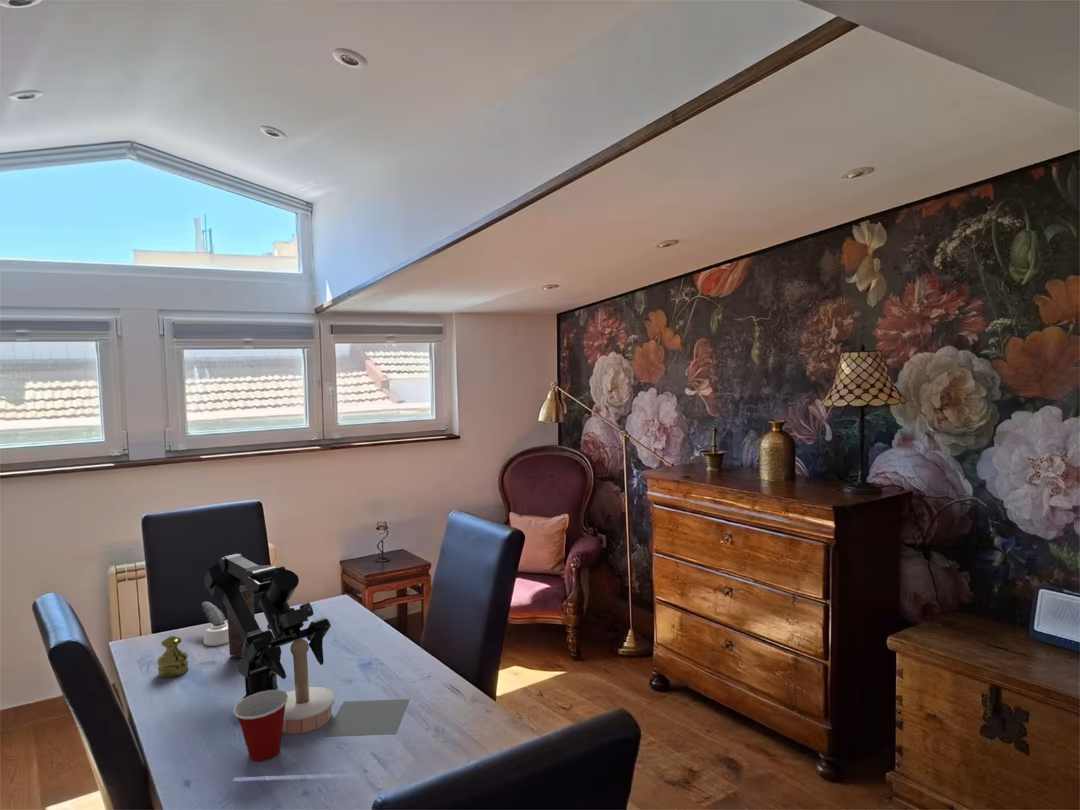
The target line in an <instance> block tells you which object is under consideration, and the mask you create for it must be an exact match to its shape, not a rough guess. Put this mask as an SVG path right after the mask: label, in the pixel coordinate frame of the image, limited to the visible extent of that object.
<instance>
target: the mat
mask: <svg viewBox="0 0 1080 810" xmlns="http://www.w3.org/2000/svg"><path fill="white" fill-rule="evenodd" d="M409 702H410V698H403V699H399V698H398V699H378V700H377V699H376V700H375V699H374V700H350V701H346V700H345V701H343V702H342V703H341V706H340V707H339V709H338V711H337V713H336V714H335V715H334V717H333V719H332V721H331V723H330V725H329V726H328V727H327V730H326V732H325V733H324V735H323V737H324V738H326V737H327V738H329V737H332V738H333V737H353V736H355V737H356V736H357V737H359V736H380V735H382V736H383V735H396V734H397V733H398V730H399V728H400V725H401V722H402V720H403V717H404V715H405V712H406V709H407V707H408V704H409Z"/></svg>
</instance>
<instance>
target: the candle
mask: <svg viewBox="0 0 1080 810" xmlns="http://www.w3.org/2000/svg"><path fill="white" fill-rule="evenodd" d="M240 591H241V593H242V595H243V597H244V599H245V601H246V603H247V605H248V606H249V608H250V610H251V612H252V614H253V616H254V618H255V619H256V617H255V605H254V604H255V603H254V602H255V601H254V595H253V594H251V593H250V592H249V591H248V590H247V589H246V584H245V585H240ZM226 615H227V617H226V618H227V623H228V635H229V643H228V646H229V647H228V649H229V656H231V657H239V658H240V657H241V658H242V650H243V645H244V643H243V641H242V639H241V637H240V635H239V633H238V631H237V629H236V627H235V625H234V623H233V621H232V619H231V617H230V615H229V613H228V611H227V610H226Z"/></svg>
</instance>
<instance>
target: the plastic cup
mask: <svg viewBox="0 0 1080 810" xmlns="http://www.w3.org/2000/svg"><path fill="white" fill-rule="evenodd" d="M286 693H287V692H285V691H284V690H280V689H276V690H267V691H262V692H258V693H255V694H253V695H250V696H248V697H246V698H244V699H243V698H242V699H241V700H239V701H238V702H237V704H236V705H235V706H234V707H233V710H232V711H233V712H232V713H233V714H234V716H235V718H237V720H238V723H239V724H240V727H241V730H242V734H243V738H244V742H245V743H244V744H245V746H246V749H247V753H248V755H249V759H250V760H252V761H254V762H265V761H268V760H270V759H273V758H275V757H276V756H277V755H278V754H280V752H281V744H282V743H281V742H282V738H283V732H282V730H283V719H284V712H285V705H286V702H287V698H288V695H287V694H286Z"/></svg>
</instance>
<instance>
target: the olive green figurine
mask: <svg viewBox="0 0 1080 810" xmlns="http://www.w3.org/2000/svg"><path fill="white" fill-rule="evenodd" d="M182 640H183V639H182V637H180V636H175V635H170V636H168V637H166V638H165V639H163V640H162V641H161V643H160V644H161V646H163V647H164V648H166V650H165V651H164V652H163V653H162V655H160V656H159V657H157V662H156V663H157V665H158V667H157V675H158V677H159V678H163V679H169V678H170V679H171V678H176V677H178V676H181V675H183V674H185V673H187V672H188V671H189V661H188V657H189V655H188V653H187V652H186V651H184V650H182V649H180V648H178V647H179V645H180V643H181V642H182Z"/></svg>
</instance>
